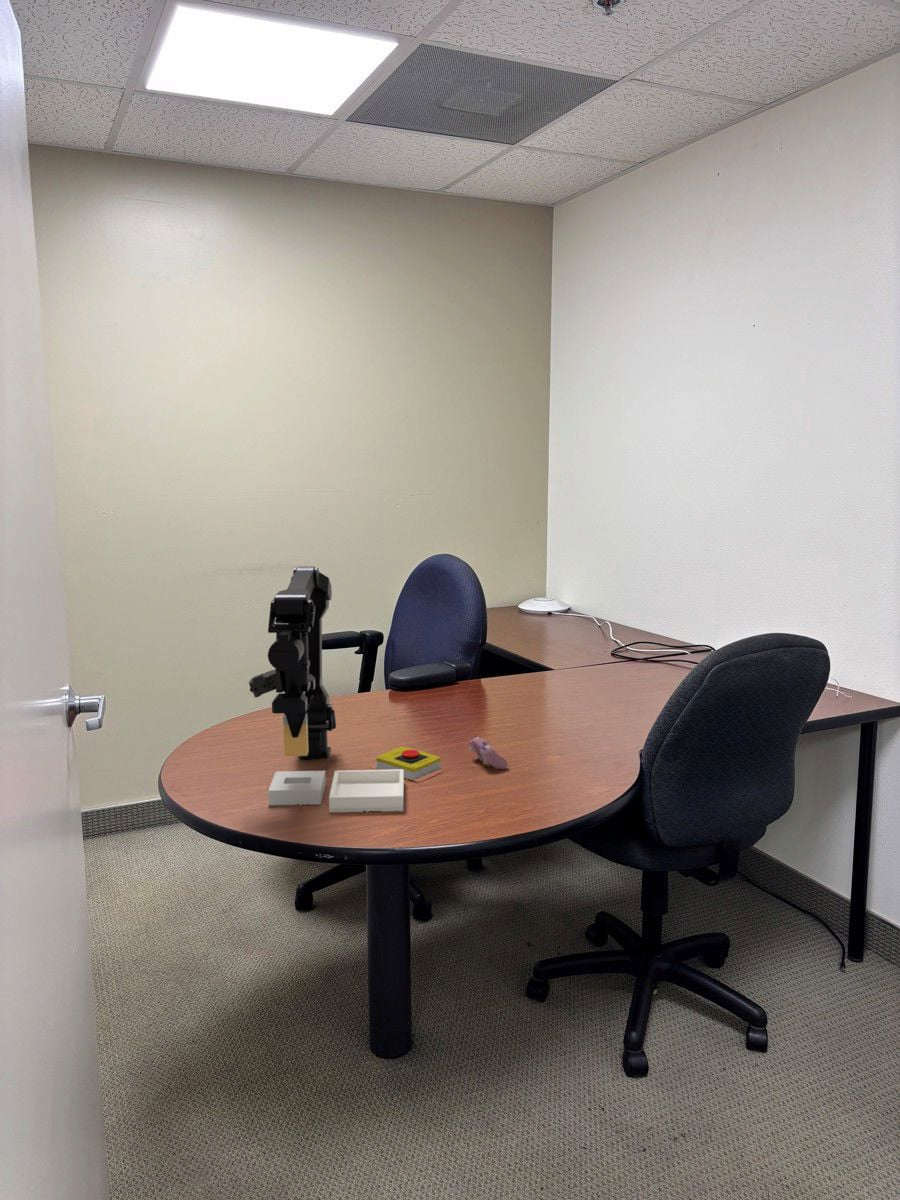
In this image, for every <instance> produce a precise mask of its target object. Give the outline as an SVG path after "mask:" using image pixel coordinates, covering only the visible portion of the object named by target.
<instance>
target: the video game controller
mask: <svg viewBox="0 0 900 1200" xmlns="http://www.w3.org/2000/svg"><path fill="white" fill-rule="evenodd" d="M468 743H469V747H468V748H469V751H470V752H474V753H475V754H476V756H477V757H478V759H479V760H480V761H481V762H482V763H483V765H484V766H486V767H487V766H488V767H487V768H489V767H491V766H492V767H494V768H495V769H498V770H506V769H507V768H508V764H509V763H508V761H507V759H505V757H503V756H501V755H500V754H499V753H497V752H496V750H495V749H494V747H492V745H491V744H490V742H489V740H487V739H486V738H483V737H479V736H477V737H473V738H472V739H471V740H469V741H468Z"/></svg>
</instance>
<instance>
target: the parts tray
mask: <svg viewBox="0 0 900 1200" xmlns="http://www.w3.org/2000/svg"><path fill="white" fill-rule="evenodd" d="M404 780H405V779H404V769H393V770H376V769H355V770H354V769H351V770H349V769H348V770H343V769H342V770H341V769H340V770H334V774H333V778H332V783H331V786H330V787H331V788H330V791H329V795H328V804H329V805H328V807H329V809H328V810H329V811H328V813H330V814H331V813H364V812H363V811H366V812H365V813H369V811H381V812H404V801H405V800H404V799H405V798H404V788H405V785H404V784H405V783H404V782H405V781H404Z"/></svg>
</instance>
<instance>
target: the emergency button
mask: <svg viewBox="0 0 900 1200" xmlns="http://www.w3.org/2000/svg"><path fill="white" fill-rule="evenodd" d="M376 762H377V763H376ZM376 762H375V763H376V769H379V770H393V769H404V777H405V778H409V779H412V780H414V779H418V778H420V777H422V776H425V775H427V774H430V773H432V772H434V771H436V770H439V769H441V768H442V767H441V759H440V756H438V755H435V754H431V753H428V752H424V751H420V750H418V749H414V748H411V747H407V746H400V747H397V748H394V749H392V750H390V751H387V752H384V753H381V754H379V755H378V756H376ZM376 769H375V770H376Z"/></svg>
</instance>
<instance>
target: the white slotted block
mask: <svg viewBox="0 0 900 1200" xmlns="http://www.w3.org/2000/svg"><path fill="white" fill-rule="evenodd" d="M325 789H326V770H298V771H297V770H296V771H295V770H292V771H291V770H290V771H275V773H274V775H273V777H272V781H271V783H270V786H269V788H268V790H267V792H268V806H298V805H297V804H299V806H302V805H303V804H304V805H307V804H309V805H322V802H321V801H323V796H324V794H325V793H324V792H325ZM294 804H295V805H294ZM304 805H303V806H304Z"/></svg>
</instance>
